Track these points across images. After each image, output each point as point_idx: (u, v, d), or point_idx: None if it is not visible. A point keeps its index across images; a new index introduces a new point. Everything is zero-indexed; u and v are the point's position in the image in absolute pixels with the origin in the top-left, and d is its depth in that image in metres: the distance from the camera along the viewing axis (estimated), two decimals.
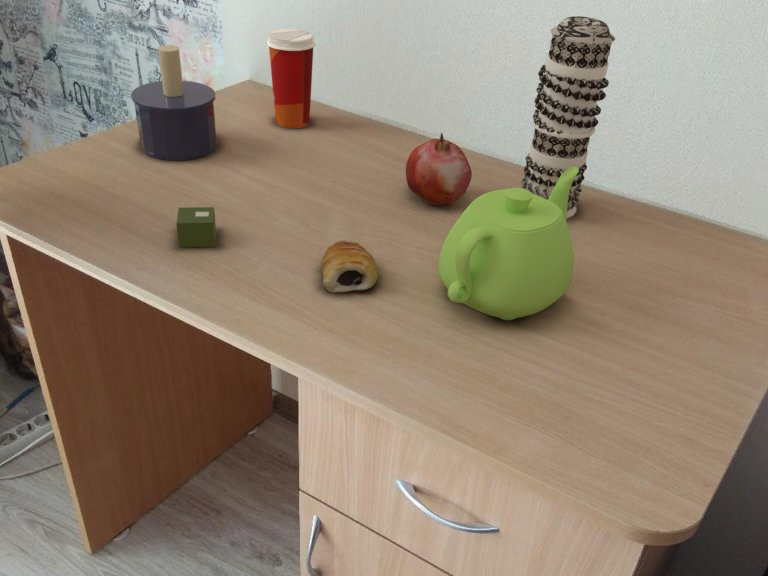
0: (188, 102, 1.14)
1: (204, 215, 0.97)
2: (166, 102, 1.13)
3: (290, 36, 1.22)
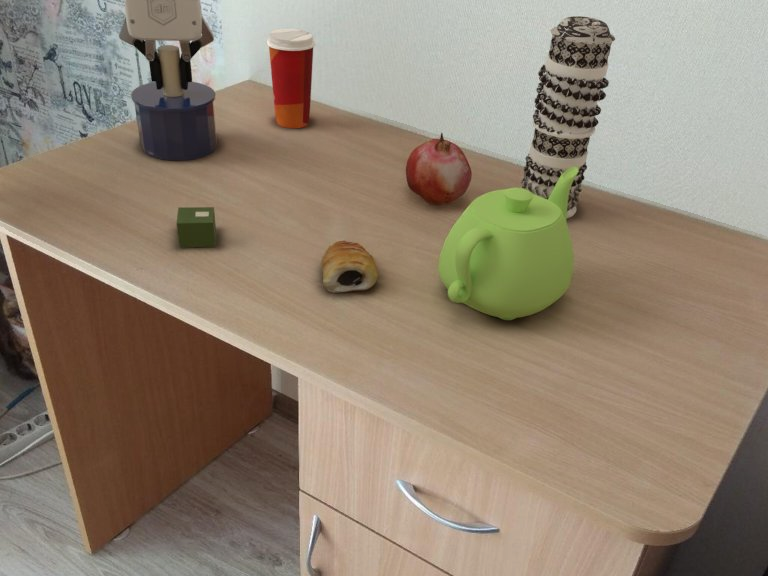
0: (188, 102, 1.14)
1: (204, 215, 0.97)
2: (166, 102, 1.13)
3: (290, 36, 1.22)
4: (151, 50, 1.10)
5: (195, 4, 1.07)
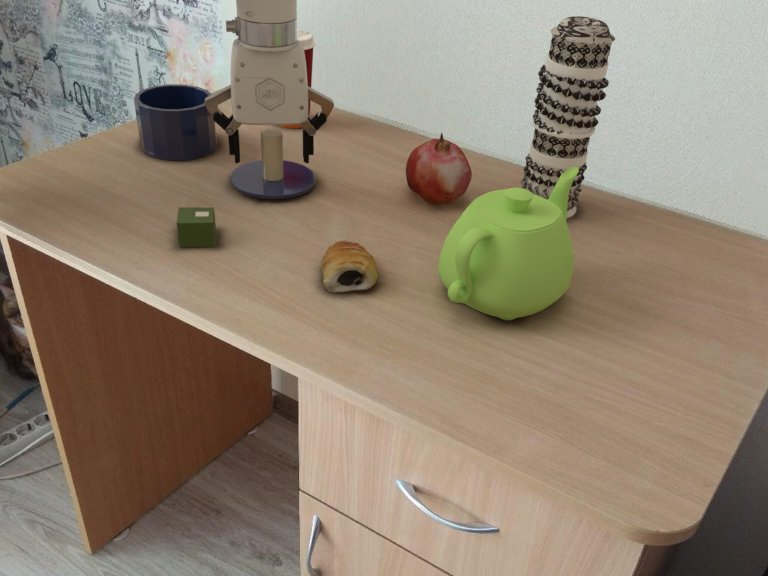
0: (290, 187, 1.10)
1: (204, 215, 0.97)
2: (268, 188, 1.09)
3: None
4: (231, 124, 1.05)
5: (304, 89, 1.02)
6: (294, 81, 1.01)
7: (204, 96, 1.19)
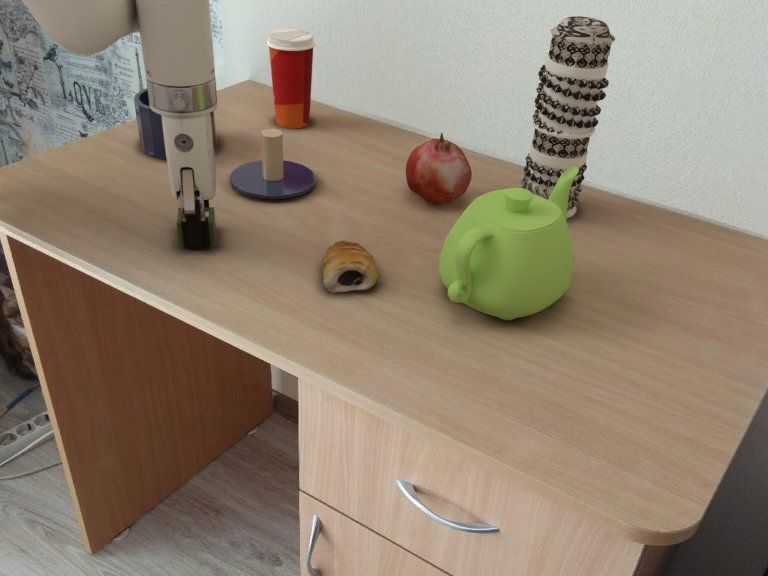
0: (290, 187, 1.10)
1: None
2: (268, 188, 1.09)
3: (290, 36, 1.22)
4: (204, 208, 0.93)
5: None
6: None
7: None
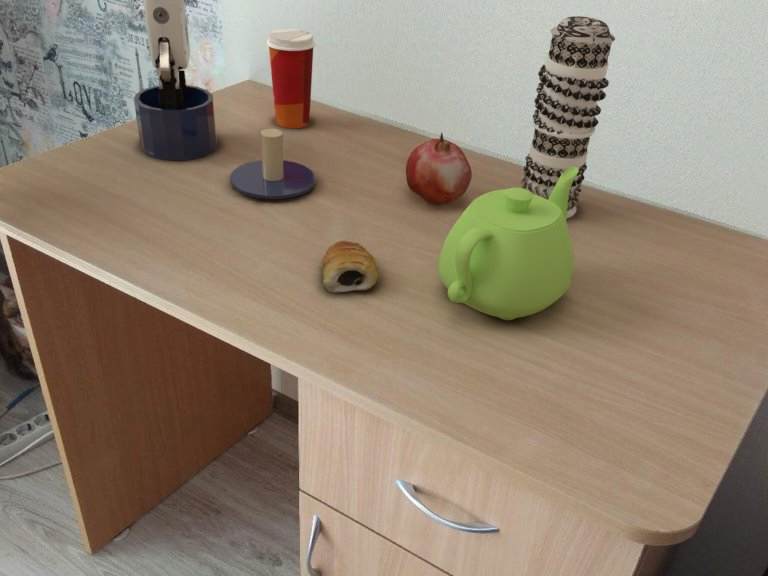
0: (290, 187, 1.10)
1: None
2: (268, 188, 1.09)
3: (290, 36, 1.22)
4: (178, 78, 1.11)
5: None
6: None
7: (204, 96, 1.19)
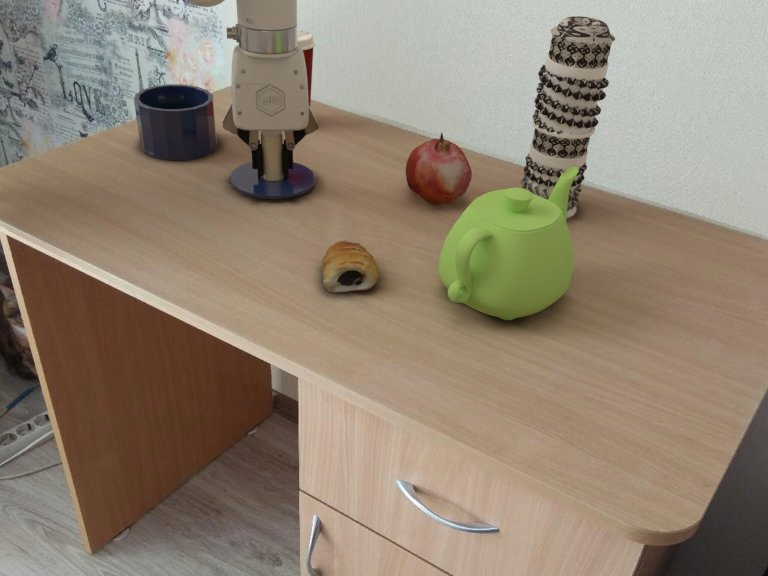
0: (290, 187, 1.10)
1: None
2: (268, 188, 1.09)
3: None
4: (255, 139, 1.07)
5: (304, 95, 1.03)
6: (294, 87, 1.02)
7: (204, 96, 1.19)
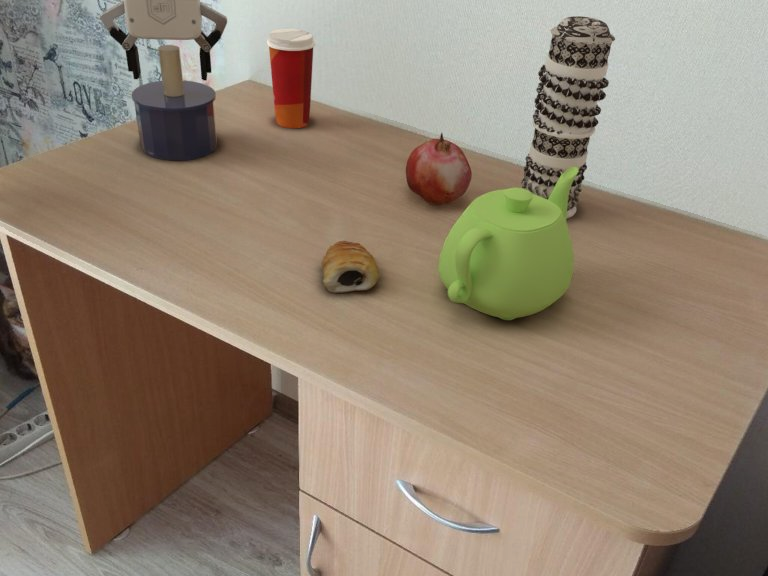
0: (188, 102, 1.14)
1: None
2: (166, 102, 1.13)
3: (290, 36, 1.22)
4: (127, 39, 1.09)
5: (195, 3, 1.06)
6: None
7: None
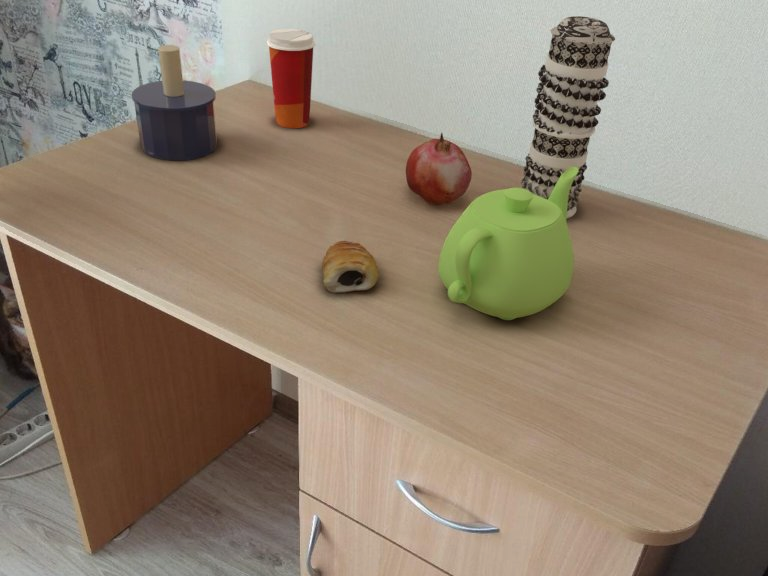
0: (188, 102, 1.14)
1: None
2: (166, 102, 1.13)
3: (290, 36, 1.22)
4: None
5: None
6: None
7: None
